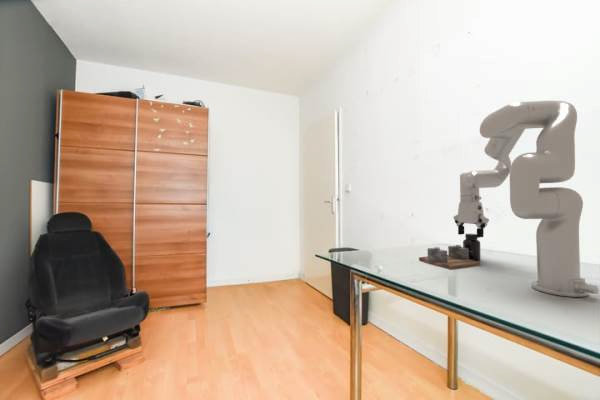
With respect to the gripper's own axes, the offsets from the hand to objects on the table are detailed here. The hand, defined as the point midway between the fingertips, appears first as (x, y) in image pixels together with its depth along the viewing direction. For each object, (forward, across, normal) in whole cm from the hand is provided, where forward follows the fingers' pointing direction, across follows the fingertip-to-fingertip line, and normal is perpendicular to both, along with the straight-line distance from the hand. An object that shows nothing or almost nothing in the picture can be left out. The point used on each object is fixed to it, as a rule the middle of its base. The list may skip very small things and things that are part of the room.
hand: (470, 235), depth 125 cm
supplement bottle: (+11, -1, 0) cm, 11 cm away
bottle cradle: (+11, -1, +14) cm, 18 cm away
